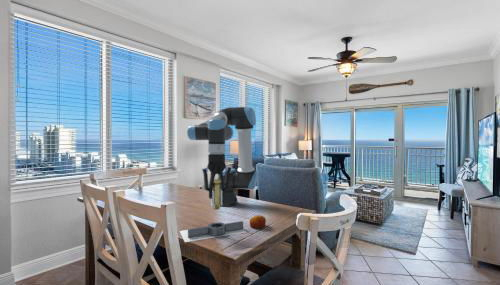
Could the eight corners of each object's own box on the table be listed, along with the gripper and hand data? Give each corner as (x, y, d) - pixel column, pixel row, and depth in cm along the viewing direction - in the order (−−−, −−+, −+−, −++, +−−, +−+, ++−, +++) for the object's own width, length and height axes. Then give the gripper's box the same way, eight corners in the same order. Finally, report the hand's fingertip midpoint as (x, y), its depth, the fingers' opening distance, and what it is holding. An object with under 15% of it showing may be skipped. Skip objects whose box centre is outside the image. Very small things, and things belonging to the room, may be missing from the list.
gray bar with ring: (186, 234, 115) (186, 226, 115) (239, 226, 125) (239, 219, 125) (189, 240, 107) (189, 232, 107) (246, 231, 118) (246, 224, 118)
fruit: (255, 231, 118) (251, 214, 122) (249, 235, 124) (246, 218, 128) (270, 228, 121) (267, 212, 125) (264, 232, 128) (260, 216, 131)
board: (179, 233, 119) (179, 230, 119) (235, 225, 131) (235, 222, 130) (184, 245, 106) (184, 242, 106) (246, 234, 118) (246, 232, 118)
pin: (210, 207, 117) (210, 179, 117) (219, 206, 119) (219, 178, 119) (213, 210, 113) (213, 181, 113) (222, 209, 115) (222, 180, 115)
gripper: (201, 154, 109) (200, 209, 109) (236, 153, 116) (236, 205, 116) (197, 153, 116) (196, 205, 116) (230, 152, 123) (230, 201, 123)
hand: (216, 205), depth 116 cm, fingers closed on pin, 3 cm apart
